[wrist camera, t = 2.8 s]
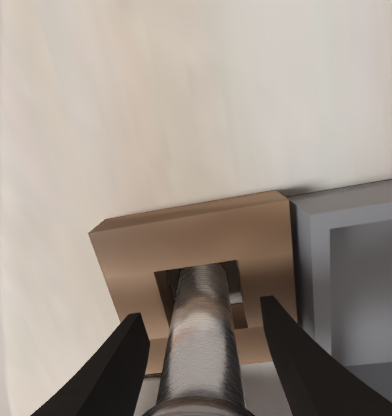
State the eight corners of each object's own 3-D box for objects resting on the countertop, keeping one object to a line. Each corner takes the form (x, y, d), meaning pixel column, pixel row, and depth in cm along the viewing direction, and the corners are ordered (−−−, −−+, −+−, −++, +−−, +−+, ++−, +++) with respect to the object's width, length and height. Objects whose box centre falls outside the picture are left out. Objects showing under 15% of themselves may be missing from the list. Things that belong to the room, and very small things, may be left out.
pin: (238, 300, 15) (280, 509, 6) (179, 307, 15) (147, 515, 7) (229, 246, 13) (268, 417, 5) (165, 256, 14) (107, 430, 6)
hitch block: (288, 330, 15) (299, 358, 13) (147, 346, 16) (139, 374, 14) (275, 189, 12) (288, 199, 10) (104, 219, 13) (88, 233, 11)
